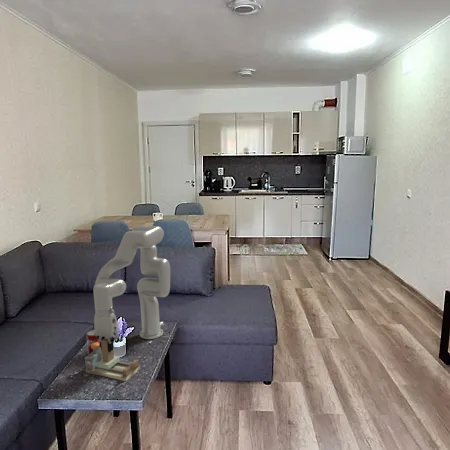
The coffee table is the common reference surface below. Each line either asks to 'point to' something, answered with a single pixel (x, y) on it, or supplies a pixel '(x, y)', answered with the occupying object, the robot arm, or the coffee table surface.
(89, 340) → the soda can
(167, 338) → the coffee table surface
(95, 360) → the rail bed
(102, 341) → the carriage
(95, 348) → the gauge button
